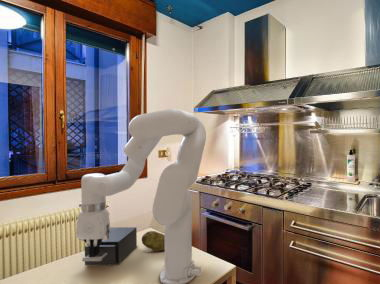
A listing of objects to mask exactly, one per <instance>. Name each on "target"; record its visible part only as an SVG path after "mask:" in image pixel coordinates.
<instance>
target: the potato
mask: <svg viewBox="0 0 380 284" xmlns="http://www.w3.org/2000/svg"><path fill="white" fill-rule="evenodd" d="M164 235H165V234H164V233H162V232H158V231H155V230H149V231H147V232H145V233H143V235H142V237H141V242H142V244H143V246H144V247H146V248H147V249H150V250H152V251H154V252H161V251H165V245H164Z"/></svg>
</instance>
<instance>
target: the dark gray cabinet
mask: <svg viewBox="0 0 380 284" xmlns="http://www.w3.org/2000/svg"><path fill="white" fill-rule="evenodd" d="M137 233H138V231H137V227H136V226H135V227H132V226H131V227H121V226H119V227H117V226H116V227H111V226H110V233H109V239H108V240H105V241H102V242H101V243H100V244H117V260H116V264H115V265H120V264H121V263H122V262H123V261H124V260H125V259H126V258H127V257H128V256H129V255H130V254H132V253H133V251H134V250H136V248H138V247H137V245H138V244H137V243H138V242H137V241H138V240H137V239H138V238H137V235H138V234H137Z"/></svg>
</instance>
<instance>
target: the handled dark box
mask: <svg viewBox="0 0 380 284" xmlns="http://www.w3.org/2000/svg"><path fill="white" fill-rule="evenodd" d="M116 260H117V244H100V252H99V254H97V255H96V256H95V257H89V246H87V244H86V245H85V246H84V256H83V257H82V259H81V261H82V262H84V266H115V265H117V264H116Z"/></svg>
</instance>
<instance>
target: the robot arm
mask: <svg viewBox="0 0 380 284" xmlns="http://www.w3.org/2000/svg"><path fill="white" fill-rule="evenodd" d="M128 133H129V135H130V136H131V138H130V139H128V141H127V143H126V144H125V146H124V147H123V153H124V155H125V156H127V157H128V159H127V161H126V163H125V165H124V166H123V168H121V170H119V172H114V173H110V174H104V173H99V172H96V173H87V174H84V175H83V176H82V177H81V183H80V185H81V188H80V189H81V190H80V191H81V203H79V204H78V207H79V208H81V211H79V212H78V216H77V219H76V227H75V228H76V230H75V235H76V236H75V237H76V238H77V239H78V240H79V241H81V242H84V243H86V245H87V246H89V257H95V256H96V255H97V254H99V252H100V243H101V242H102V241H105V240H108V239H109V233H110V228H111V221H110V220H111V219H110V214H109V209H108V208H107V197H110V196H111V197H112V196H113V195H116V194H119V193H121V192H124V191H126V190H129V189H130V188H132V186H133V185H135V183H136V182H137V181H138V179H139V178H140V176H141V175H142V173H143V171H144V169H145V165H146V160H147V159H148V157H149V156H150V155H151V153H152V151H153V150H154V149H155V147H156V146H157V145H158V144H159V142H160V141H161V140H162V138H163V137H168V136H175V135H178V136H182V141H181V142H180V145H179V147H178V152H177V155H176V158H175V162H173V163H171V164H169V165H167V166H166V167H165V168H164V169H163V170H162V172H161V174H160V176H159V179H158V183H157V187H156V190H155V195H154V198H153V204H152V216H153V219H154V220H155V221H156V222H157V223H158V224H159V225H161V226H164V234H163V235H164V245H165V250H164V269H163V270H162V271H161V272H160V274H159V280H160V283H162V284H187V283H189V282H190V281H192V280H194V278H195V277H200V276H201V275H202V267H201V266H200V265H195V260H193V242H192V241H193V213H194V197H193V194H192V193H191V192H190V190H188V189H189V188H190V187H191V186H193V185H194V184H195V183H196V182H197V179H198V176H199V172H200V167H201V163H202V159H203V158H202V157H203V155H204V150H205V145H206V141H207V131H206V127H205V125H204V123H203V122H202V121H201V120H200V118H199V117H197V116H196V115H195V114H193V113H191V112H188V111H187V110H182V109H178V108H167V109H166V108H165V109H162V110H161V109H160V110H156V111H151V112H146V113H142V114H138V115H136V116H134V117H133V118H132V119H131V120H130V121H129V124H128Z"/></svg>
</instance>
